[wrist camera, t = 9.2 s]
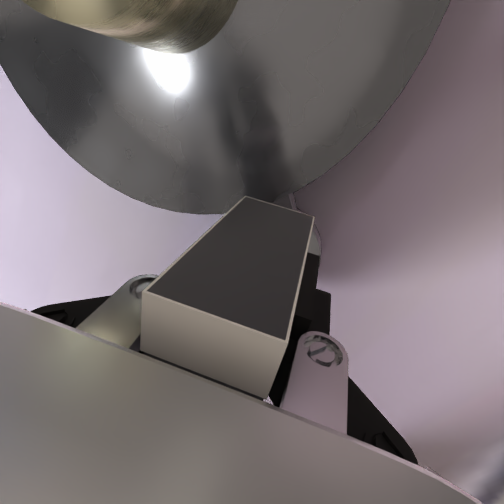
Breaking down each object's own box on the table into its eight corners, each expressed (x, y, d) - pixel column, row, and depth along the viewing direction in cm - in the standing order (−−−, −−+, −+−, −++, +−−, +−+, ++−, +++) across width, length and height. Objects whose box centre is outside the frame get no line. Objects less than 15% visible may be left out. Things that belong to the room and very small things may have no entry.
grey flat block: (230, 301, 14) (135, 470, 8) (256, 185, 12) (141, 291, 5) (278, 318, 14) (223, 510, 7) (317, 202, 11) (287, 343, 4)
